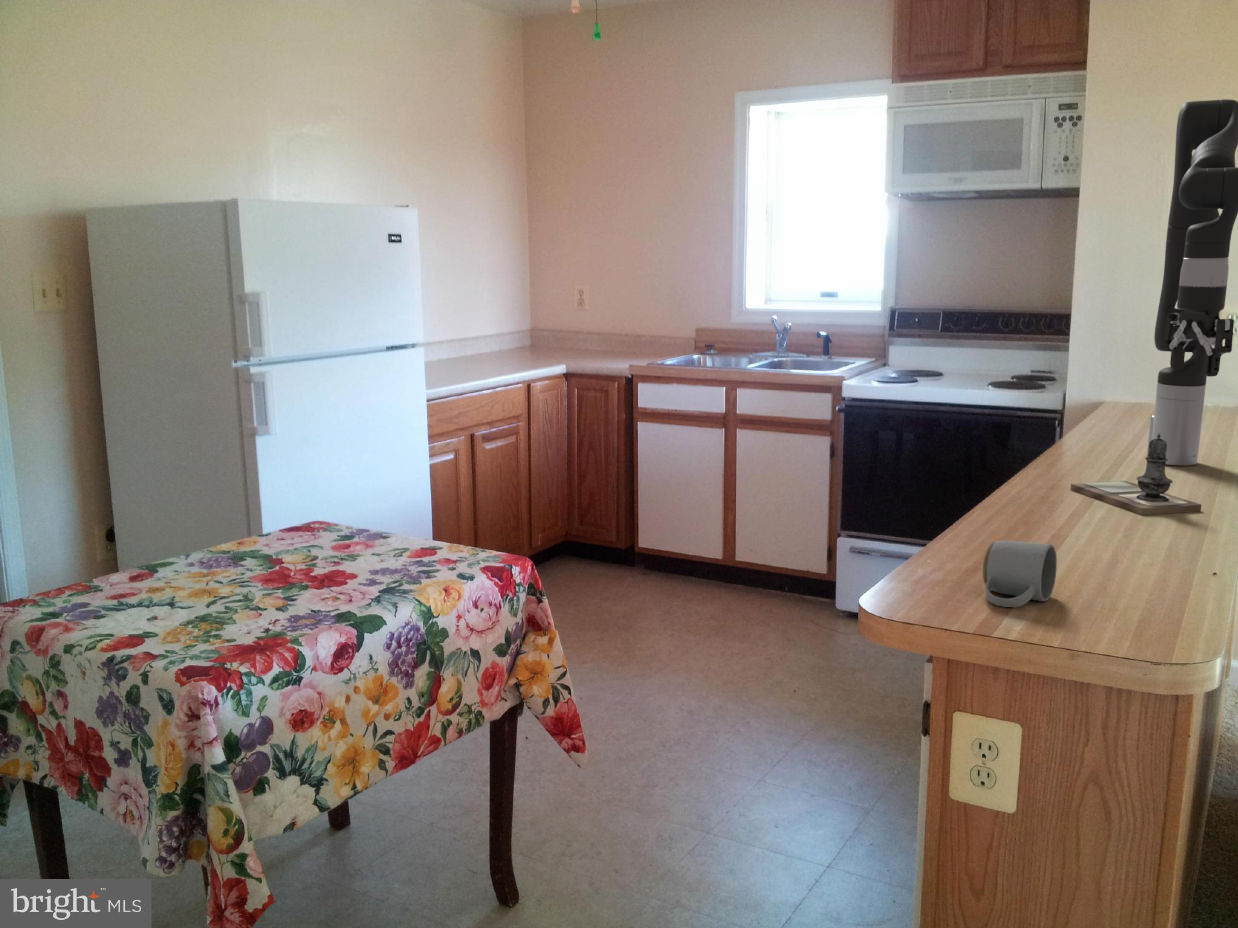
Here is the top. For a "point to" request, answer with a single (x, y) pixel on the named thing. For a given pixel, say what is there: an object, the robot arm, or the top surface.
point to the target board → (1133, 498)
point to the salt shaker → (1155, 473)
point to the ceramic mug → (1019, 571)
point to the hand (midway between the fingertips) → (1193, 372)
